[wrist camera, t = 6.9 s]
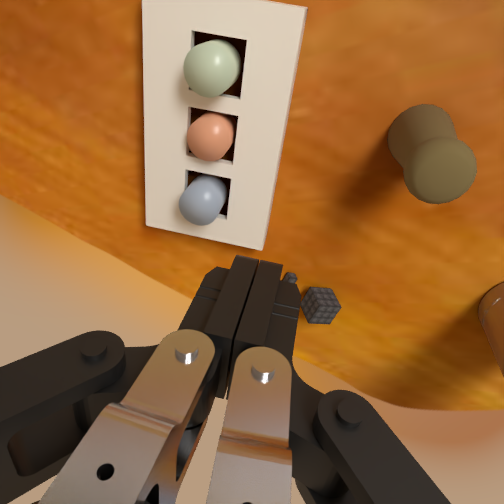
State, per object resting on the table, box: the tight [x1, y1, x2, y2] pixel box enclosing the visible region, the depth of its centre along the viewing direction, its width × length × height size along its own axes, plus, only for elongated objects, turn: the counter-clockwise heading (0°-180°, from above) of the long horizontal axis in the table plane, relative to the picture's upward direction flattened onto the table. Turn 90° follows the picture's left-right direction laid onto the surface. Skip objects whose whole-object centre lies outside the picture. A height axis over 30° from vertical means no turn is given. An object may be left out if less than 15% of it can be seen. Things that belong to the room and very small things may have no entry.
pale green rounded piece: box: [183, 39, 242, 98], centre depth 35 cm, size 4×4×4 cm
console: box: [142, 0, 308, 251], centre depth 41 cm, size 14×24×3 cm, turn 172°
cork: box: [387, 104, 477, 204], centre depth 34 cm, size 6×6×11 cm
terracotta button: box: [187, 110, 237, 161], centre depth 40 cm, size 4×4×4 cm
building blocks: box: [283, 272, 341, 324], centre depth 50 cm, size 3×6×8 cm
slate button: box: [179, 174, 228, 226], centre depth 42 cm, size 4×4×4 cm
